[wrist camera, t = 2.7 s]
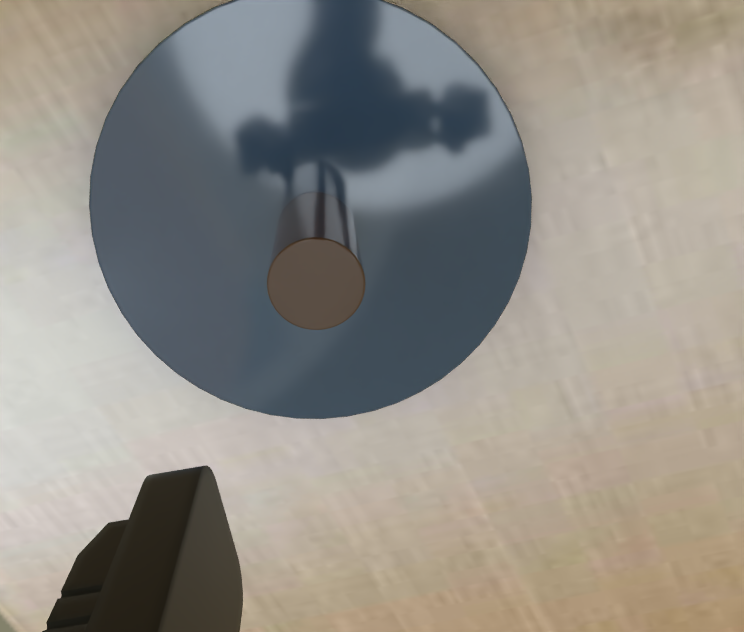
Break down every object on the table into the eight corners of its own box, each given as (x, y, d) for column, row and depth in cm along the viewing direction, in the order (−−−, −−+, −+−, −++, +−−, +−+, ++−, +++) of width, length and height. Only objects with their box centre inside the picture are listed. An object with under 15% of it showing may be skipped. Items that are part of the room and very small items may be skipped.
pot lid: (56, 331, 23) (-30, 430, 17) (170, -97, 19) (105, -153, 13) (420, 446, 26) (450, 564, 20) (596, 100, 21) (697, 125, 16)
